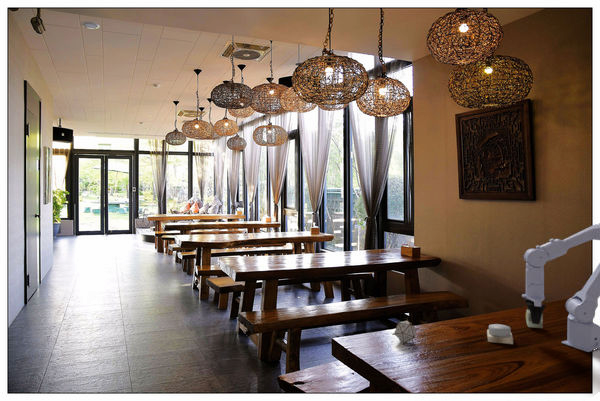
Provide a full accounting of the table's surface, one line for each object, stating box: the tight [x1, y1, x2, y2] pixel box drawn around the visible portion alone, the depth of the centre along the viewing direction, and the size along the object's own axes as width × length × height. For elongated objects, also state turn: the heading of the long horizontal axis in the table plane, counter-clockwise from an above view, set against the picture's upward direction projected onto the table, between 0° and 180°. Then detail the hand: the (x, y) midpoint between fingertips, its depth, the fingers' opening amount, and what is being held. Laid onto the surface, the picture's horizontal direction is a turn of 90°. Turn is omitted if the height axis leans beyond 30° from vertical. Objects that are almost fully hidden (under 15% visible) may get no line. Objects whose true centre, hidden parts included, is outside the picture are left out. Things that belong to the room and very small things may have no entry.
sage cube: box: [525, 308, 544, 329], centre depth 157 cm, size 4×4×5 cm
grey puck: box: [488, 323, 512, 337], centre depth 161 cm, size 7×7×2 cm
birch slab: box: [486, 329, 514, 345], centre depth 161 cm, size 8×8×2 cm
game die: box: [391, 318, 419, 346], centre depth 159 cm, size 9×8×10 cm
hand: (534, 321), depth 157 cm, fingers closed on sage cube, 4 cm apart
